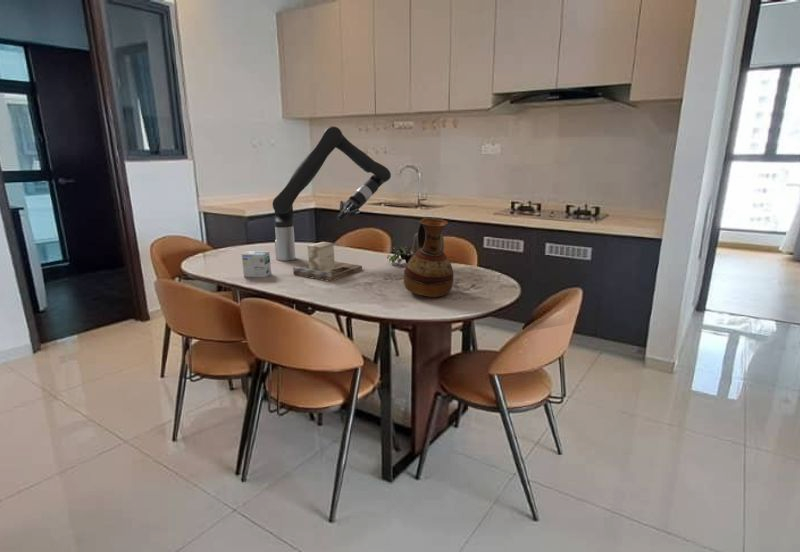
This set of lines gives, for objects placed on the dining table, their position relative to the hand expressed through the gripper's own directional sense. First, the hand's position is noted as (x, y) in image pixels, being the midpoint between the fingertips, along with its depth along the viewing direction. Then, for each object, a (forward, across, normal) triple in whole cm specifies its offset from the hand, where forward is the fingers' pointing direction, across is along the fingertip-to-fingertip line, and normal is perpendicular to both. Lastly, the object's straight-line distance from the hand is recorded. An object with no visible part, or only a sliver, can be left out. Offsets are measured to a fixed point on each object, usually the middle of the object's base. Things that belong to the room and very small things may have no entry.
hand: (338, 218), depth 228 cm
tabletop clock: (-6, +48, +16) cm, 51 cm away
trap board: (+24, +14, +6) cm, 29 cm away
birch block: (+26, +14, +1) cm, 30 cm away
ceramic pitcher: (+14, +67, -6) cm, 69 cm away
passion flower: (-4, +33, +20) cm, 38 cm away
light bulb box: (+47, -7, -3) cm, 47 cm away
